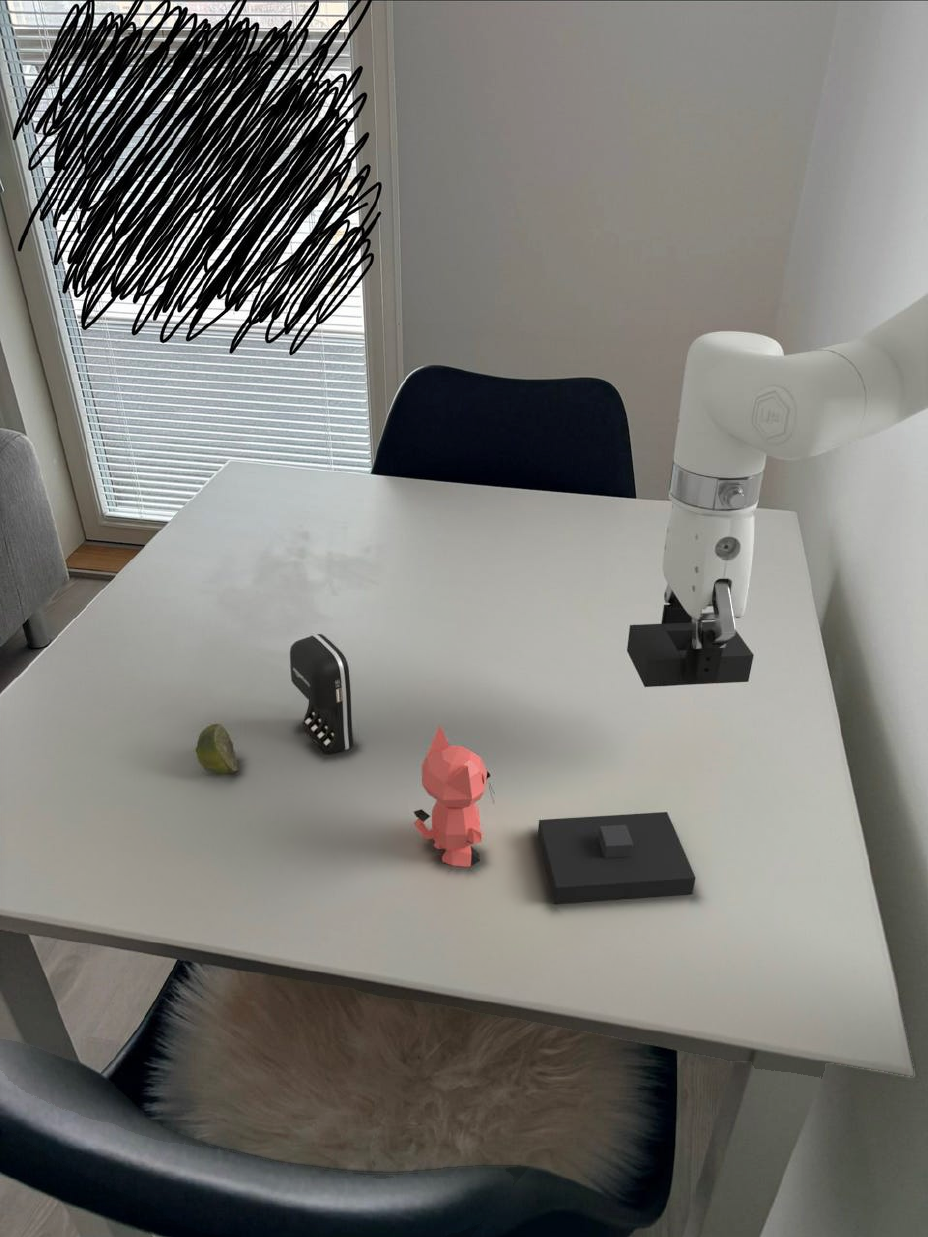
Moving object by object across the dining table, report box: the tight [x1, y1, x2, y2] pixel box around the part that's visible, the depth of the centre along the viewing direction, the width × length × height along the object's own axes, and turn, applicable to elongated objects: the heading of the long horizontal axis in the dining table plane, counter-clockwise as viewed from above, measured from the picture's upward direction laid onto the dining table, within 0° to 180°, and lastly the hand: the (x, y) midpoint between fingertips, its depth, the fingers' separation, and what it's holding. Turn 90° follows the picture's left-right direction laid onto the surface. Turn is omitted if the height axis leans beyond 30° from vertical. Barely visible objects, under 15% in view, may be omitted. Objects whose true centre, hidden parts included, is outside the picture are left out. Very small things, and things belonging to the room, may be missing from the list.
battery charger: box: [289, 633, 354, 754], centre depth 89 cm, size 7×4×11 cm, turn 36°
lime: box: [195, 723, 238, 774], centre depth 86 cm, size 4×5×5 cm
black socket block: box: [626, 620, 755, 688], centre depth 84 cm, size 10×6×3 cm, turn 95°
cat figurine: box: [413, 723, 495, 868], centre depth 76 cm, size 7×7×12 cm
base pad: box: [537, 811, 696, 905], centre depth 77 cm, size 12×8×4 cm, turn 96°
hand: (687, 658), depth 84 cm, fingers closed on black socket block, 6 cm apart
